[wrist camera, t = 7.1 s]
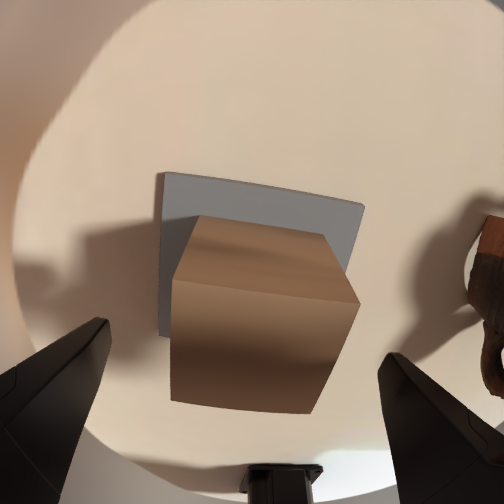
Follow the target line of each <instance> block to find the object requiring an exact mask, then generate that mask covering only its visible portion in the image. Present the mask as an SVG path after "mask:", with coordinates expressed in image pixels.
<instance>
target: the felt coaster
mask: <svg viewBox="0 0 504 504" xmlns="http://www.w3.org/2000/svg"><path fill="white" fill-rule="evenodd" d="M364 209H365V206H364V205H363V204H361V203H357V202H352V201H347V200H343V199H338V198H333V197H328V196H323V195H317V194H312V193H307V192H301V191H296V190H290V189H285V188H279V187H273V186H267V185H261V184H255V183H248V182H242V181H235V180H229V179H222V178H215V177H207V176H200V175H192V174H184V173H176V172H166V173H165V180H164V192H163V205H162V220H161V237H160V261H159V336H163V337H169V338H170V335H171V299H172V279H173V276H174V274H175V272H176V269H177V267H178V264H179V262H180V260H181V257H182V255H183V253H184V250H185V248H186V246H187V243H188V241H189V239H190V236H191V234H192V232H193V229H194V227H195V225H196V223H197V220H198V218H199V216H200V215H204V216H210V217H217V218H224V219H231V220H237V221H244V222H251V223H257V224H263V225H270V226H276V227H282V228H289V229H295V230H301V231H307V232H313V233H319V234H323V235H324V236H325V238H326V240H327V242H328V244H329V245H330V247H331V249H332V251H333V253H334V254H335V256H336V258H337V260H338V262H339V264H340V266H341V267H342V269H343V271H344V273H345V272H346V269H347V266H348V263H349V259H350V256H351V253H352V250H353V247H354V243H355V240H356V237H357V233H358V230H359V227H360V223H361V220H362V216H363V213H364Z"/></svg>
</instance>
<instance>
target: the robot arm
mask: <svg viewBox="0 0 504 504" xmlns="http://www.w3.org/2000/svg"><path fill="white" fill-rule="evenodd" d="M111 343H112V338H111V331H110V323H109V320H107V319H105V318H100V317H95V318H93V319H92V320H90V321H88V322H87V323H85V324H83V325H81V326H80V327H78V328H76V329H75V330H73V331H71V332H70V333H68V334H67V335H65V336H63V337H62V338H60V339H58V340H57V341H55V342H53V343H52V344H50V345H48V346H47V347H45V348H43V349H42V350H40V351H39V352H37V353H35V354H34V355H32V356H30V357H29V358H27V359H26V360H24V361H22V362H21V363H19V364H17V365H16V366H14V367H12V368H11V369H9V370H8V371H6V372H4V373H3V374H1V375H0V504H58V503H59V500H60V496H61V495H60V494H61V492H62V489H63V486H64V483H65V479H66V476H67V473H68V470H69V467H70V464H71V461H72V458H73V455H74V452H75V449H76V447H77V444H78V441H79V438H80V435H81V432H82V430H83V427H84V425H85V422H86V419H87V417H88V414H89V411H90V409H91V406H92V404H93V401H94V399H95V396H96V394H97V391H98V388H99V386H100V382H101V379H102V375H103V372H104V368H105V365H106V361H107V358H108V354H109V351H110V348H111ZM378 383H379V390H380V398H381V406H382V413H383V418H384V422H385V427H386V431H387V436H388V441H389V445H390V450H391V455H392V460H393V465H394V470H395V476H396V481H397V487H398V493H399V499H400V504H504V435H503V434H501V433H500V432H498V431H497V430H496V429H494V428H493V427H491V426H490V425H489V424H487V423H486V422H484V421H483V420H482V419H481V418H479V417H478V416H477V415H476V414H474V413H473V412H472V411H471V410H470V409H468V408H467V407H466V406H465V405H463V404H462V403H461V402H460V401H459V400H457V399H456V398H455V397H454V396H452V395H451V394H450V393H449V392H447V391H446V390H445V389H444V388H443V387H441V386H440V385H439V384H438V383H436V382H435V381H434V380H433V379H431V378H430V377H429V376H428V375H427V374H425V373H424V372H423V371H422V370H420V369H419V368H418V367H417V366H415V365H414V364H413V363H412V362H410V361H409V360H408V359H407V358H405V357H404V356H403V355H402V354H400V353H398V352H390V353H388V354H387V355H386V357H385V358H384V360H383V362H382V364H381V366H380V367H379V369H378ZM322 472H323V467H322V466H258V465H253V466H249V467H248V469H247V472H246V474H245V477H244V479H243V481H242V484H241V486H240V488H239V492H240V493H244V494H248V504H314V501H313V494H312V486H311V485H312V484H313V483H314V481H315V480H316V479H317V478H318V477H319V476H320V474H321V473H322Z"/></svg>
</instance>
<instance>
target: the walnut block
mask: <svg viewBox="0 0 504 504" xmlns="http://www.w3.org/2000/svg"><path fill="white" fill-rule="evenodd" d="M360 305H361V304H360V302H359V300H358V298H357V296H356V294H355V292H354V290H353V288H352V286H351V284H350V282H349V281H348V279H347V277H346V275H345V273H344V271H343V269H342V267H341V266H340V264H339V262H338V260H337V258H336V256H335V254H334V253H333V251H332V249H331V247H330V245H329V244H328V242H327V240H326V238H325V236H324V235H323V234H319V233H313V232H307V231H301V230H295V229H289V228H282V227H276V226H270V225H263V224H257V223H251V222H244V221H237V220H231V219H224V218H217V217H210V216H204V215H200V216H199V218H198V220H197V223H196V225H195V227H194V229H193V232H192V234H191V236H190V239H189V241H188V243H187V246H186V248H185V250H184V253H183V255H182V257H181V260H180V262H179V264H178V267H177V269H176V272H175V274H174V276H173V279H172V299H171V335H170V389H171V401H177V402H183V403H189V404H196V405H203V406H210V407H218V408H226V409H235V410H245V411H257V412H271V413H290V414H311V412H312V410H313V408H314V406H315V404H316V402H317V400H318V398H319V396H320V394H321V392H322V390H323V388H324V386H325V384H326V382H327V380H328V378H329V376H330V374H331V372H332V369H333V367H334V365H335V363H336V361H337V359H338V357H339V354H340V352H341V350H342V348H343V345H344V343H345V341H346V338H347V336H348V334H349V331H350V329H351V327H352V324H353V322H354V320H355V317H356V315H357V312H358V310H359V307H360Z"/></svg>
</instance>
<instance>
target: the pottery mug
mask: <svg viewBox="0 0 504 504" xmlns="http://www.w3.org/2000/svg"><path fill="white" fill-rule="evenodd" d="M468 300H469V304H470V305H471V306H473V307H474V308H475V310H476V311H477V312H478V313H479V314H480V316H481V317H482V318H483V319H484V320H485V321H484V322H483V327H484V332H485V336H484V343H483V348H482V354H481V373H482V377H483V381H484V384H485V386H486V388H487V389H488V390H489V392H490V394H491V395H495V396H499V397H501V398H502V399H504V368H503V364H502V359H501V352H502V349H503V348H504V218H502V217H497V216H492V215H489V216H488V217H487V219H486V223H485V224H484V227H483V230H482V234H481V236H480V239H479V245H478V248H477V253H476V255H475V259H474V263H473V268H472V270H471V271H470V280H469V283H468Z"/></svg>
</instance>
